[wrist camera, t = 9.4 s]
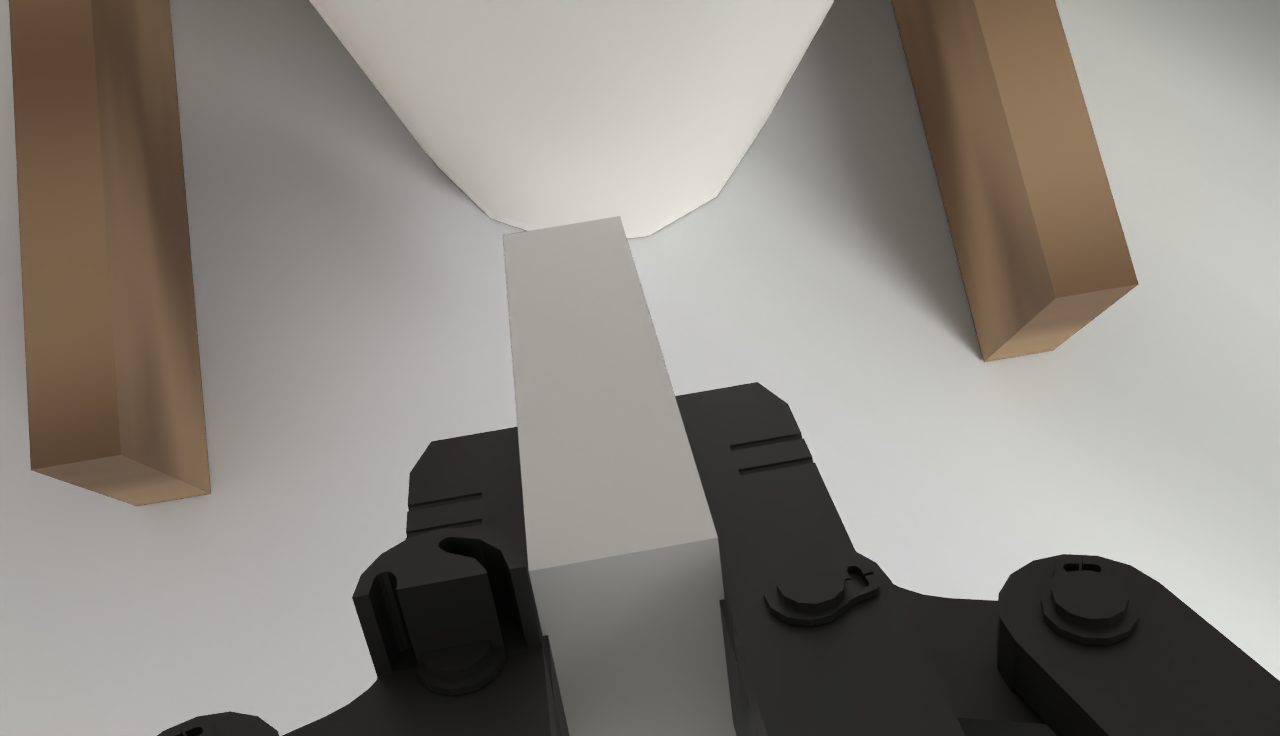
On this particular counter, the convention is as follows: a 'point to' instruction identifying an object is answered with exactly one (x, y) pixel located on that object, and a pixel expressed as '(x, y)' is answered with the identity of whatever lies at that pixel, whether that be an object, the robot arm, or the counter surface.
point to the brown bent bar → (160, 249)
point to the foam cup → (581, 96)
